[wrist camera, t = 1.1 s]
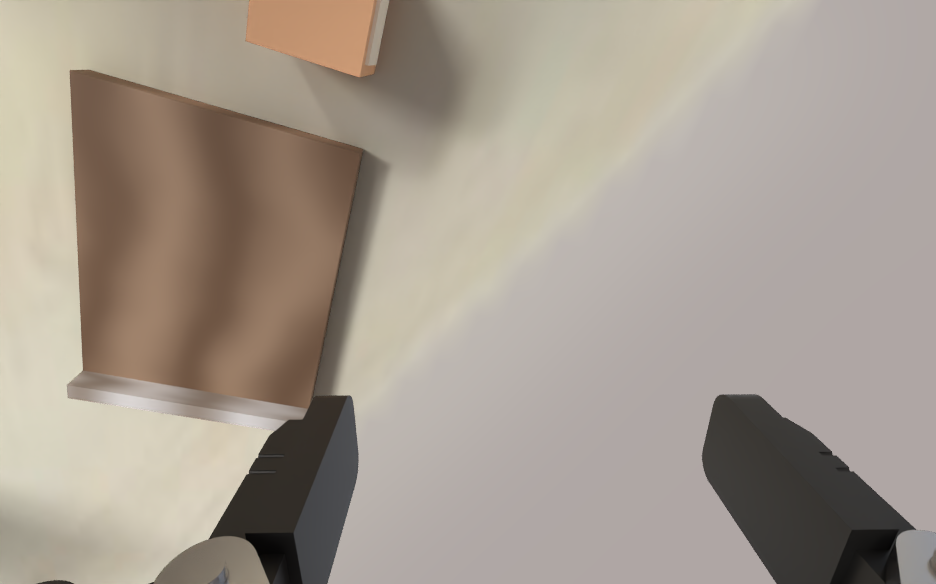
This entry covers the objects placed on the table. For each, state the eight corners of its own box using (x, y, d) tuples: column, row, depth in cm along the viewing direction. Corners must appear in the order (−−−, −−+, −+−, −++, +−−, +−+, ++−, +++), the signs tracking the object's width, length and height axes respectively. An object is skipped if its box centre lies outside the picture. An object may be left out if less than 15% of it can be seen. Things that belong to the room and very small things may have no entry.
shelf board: (98, 371, 32) (67, 400, 29) (89, 69, 24) (47, 70, 21) (310, 408, 34) (300, 437, 32) (363, 149, 27) (356, 158, 24)
